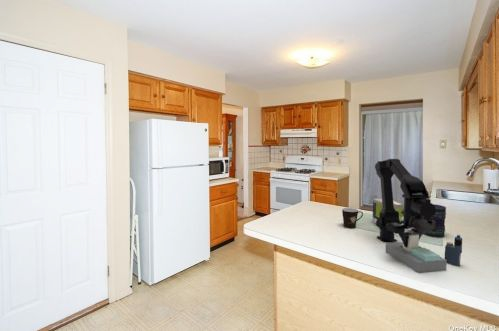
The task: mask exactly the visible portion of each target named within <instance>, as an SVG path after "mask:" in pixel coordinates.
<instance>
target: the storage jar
mask: <svg viewBox="0 0 499 331" xmlns="http://www.w3.org/2000/svg"><path fill="white" fill-rule="evenodd" d="M432 204H433V205H434V206H435V208H436V212H435V214H434V215H433V216H432V217H429V218H427V217H424V216H423V219H424V220H434V221H435V222H436V231H431V232H430V234H428V233H426V234H423V235H424V236H426V237H430V238H436V239H439V238H445V233H446V225H445V224H446V215H447V210H446V209H447V207H446V206H444V205H441V204H434V203H432Z"/></svg>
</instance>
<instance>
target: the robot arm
mask: <svg viewBox="0 0 499 331" xmlns="http://www.w3.org/2000/svg"><path fill="white" fill-rule="evenodd" d="M401 162H402V161H401V160H400V159H399V158H388V159H386V160H381V161H380V160H379V161H377V163H375V165H374V169H375V172H376V175H377V176H378V178H379V179H380V190H381V191H380V192H381V199H382V205H383V208H382V210H381V211H380V214H379V218H378V220H377V221H376V224H375V225H376V227H377V228H378V229H379V235H377V236H376V238H377V239H379V240H380V241H382V242H384V243H393V242H397V239H395V235H396V234H398V236H399V237H400V240H401V242H403V244H404V246H405V247H407V246H408V236H409V235H410V234H411V233H409V232H408V230H412V231H414V232H417V233H419V240H420V239H421V237H422V236H423V235H424V234H426V233H428V234H430V232H431V231H436V222H435V221H434V220H424V219H423V216H424V217H427V218H429V217H432V216H433V215H434V214H435V212H436V208H435V206H434V205H433V204H434V203H432V202H431V199H430V194H429V192H428V190H427V187H426V185H425V183H424V181H422V180H421V179H420V178H419V177H417V176H414V175H412V174H411V173H410V172H409V171H408V170H407V168H406V167H405V166H404V165H403V164H402V163H401ZM394 176H395V177H396V178H397V179H398V181H399V182H400V185H399V187H400V190H401V191H402V192H403V194H402V195H401V196H402V197H401V198H404V199H403V211H401V213H402V214H403V219H402V220H401V223H402V225H400V224H399V223H400V219H399V213H398V211H396V210H395V209H394V204H393V201H394V195H393V194H394V192H393V183H392V181H393V180H392V178H393V177H394Z"/></svg>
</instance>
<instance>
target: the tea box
mask: <svg viewBox="0 0 499 331" xmlns="http://www.w3.org/2000/svg"><path fill="white" fill-rule="evenodd" d="M393 204H394V209H395V210H396V211H398V213H399V219H400V223H399V224H400V225H403V223H401V220H403V215H404V214H402V213H401V211H404V203H401V202H398V201H396V200H393ZM382 208H383V205H382V198H372V221H371V222H372V223H374V224H375V225H376V221H377V220H378V218H379V214H380V211H381V210H382Z"/></svg>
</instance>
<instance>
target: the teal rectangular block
mask: <svg viewBox="0 0 499 331" xmlns="http://www.w3.org/2000/svg"><path fill="white" fill-rule="evenodd" d="M411 254H413V255H414V256H416V257H418V258H420V259H422V260H423V261H425V262H427V261H438V260H440V257H441V256H440V254H438V253H437V252H434V251H432V250H430V249H428V248H427V247H422V248H414V249H411Z"/></svg>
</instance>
